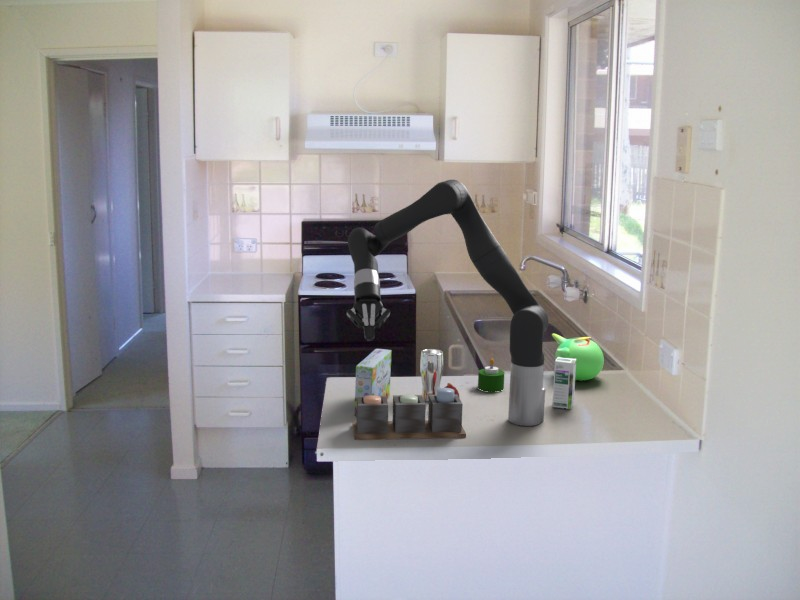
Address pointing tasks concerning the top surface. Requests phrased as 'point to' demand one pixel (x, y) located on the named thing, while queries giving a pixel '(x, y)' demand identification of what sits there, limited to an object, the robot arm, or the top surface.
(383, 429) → the button board
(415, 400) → the sage button
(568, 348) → the toy bird
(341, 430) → the top surface
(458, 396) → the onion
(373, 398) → the terracotta button
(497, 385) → the candle
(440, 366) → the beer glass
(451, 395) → the pale blue rounded piece
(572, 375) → the syrup box
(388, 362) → the snack box
